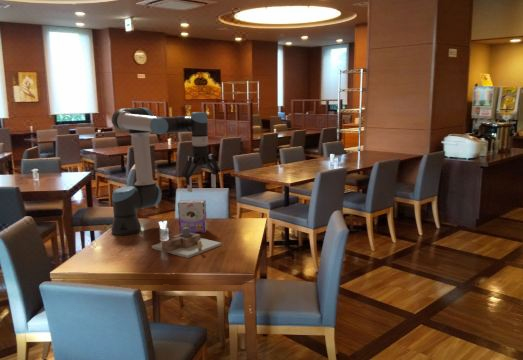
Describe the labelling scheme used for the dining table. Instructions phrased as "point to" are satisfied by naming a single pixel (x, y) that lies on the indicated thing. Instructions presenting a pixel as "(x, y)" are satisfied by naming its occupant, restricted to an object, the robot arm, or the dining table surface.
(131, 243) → the dining table surface
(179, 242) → the wooden frame with handle
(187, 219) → the candy box
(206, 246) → the post board
